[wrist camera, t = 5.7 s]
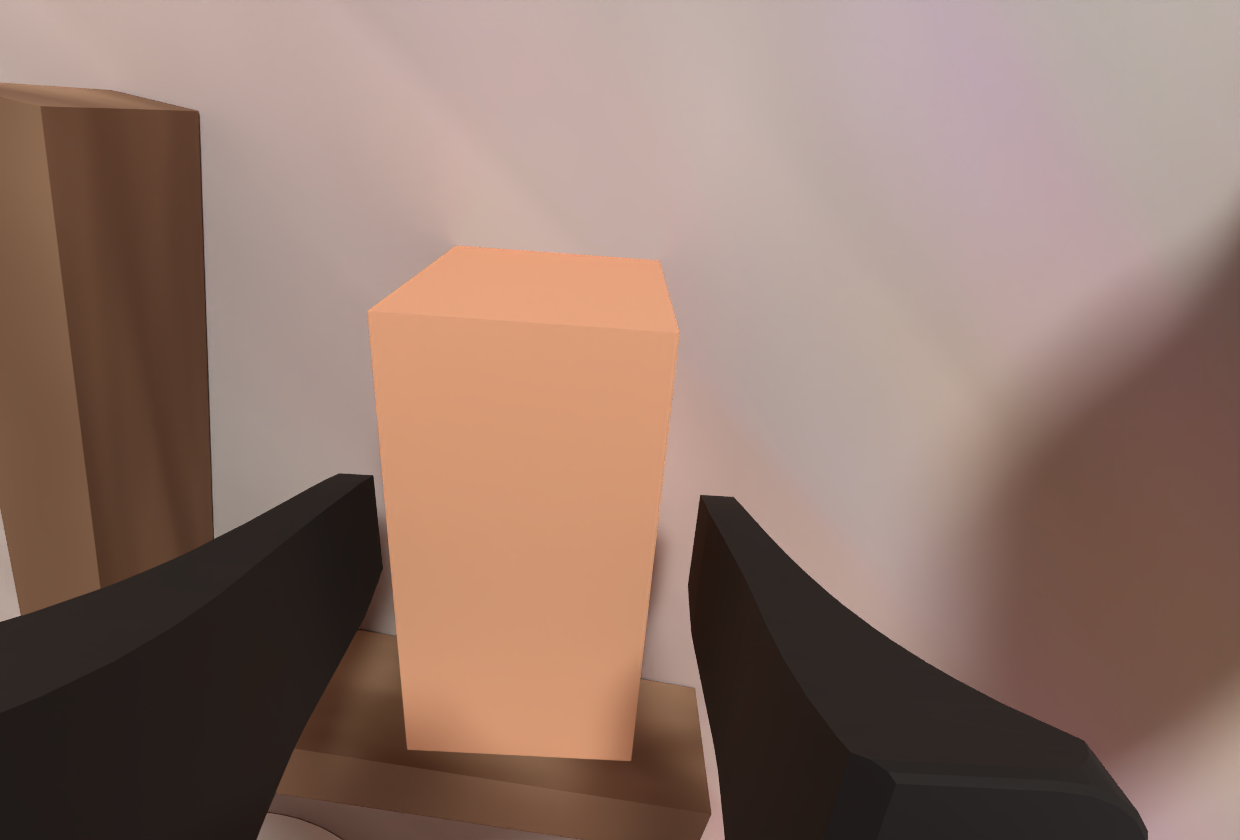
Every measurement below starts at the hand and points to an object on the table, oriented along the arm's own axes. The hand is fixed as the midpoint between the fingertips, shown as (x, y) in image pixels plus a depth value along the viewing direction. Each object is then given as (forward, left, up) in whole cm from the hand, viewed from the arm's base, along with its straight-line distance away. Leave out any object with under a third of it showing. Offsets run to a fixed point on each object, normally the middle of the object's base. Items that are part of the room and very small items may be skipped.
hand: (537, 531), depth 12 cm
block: (0, 0, -3) cm, 3 cm away
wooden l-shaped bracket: (+2, +1, -3) cm, 4 cm away
